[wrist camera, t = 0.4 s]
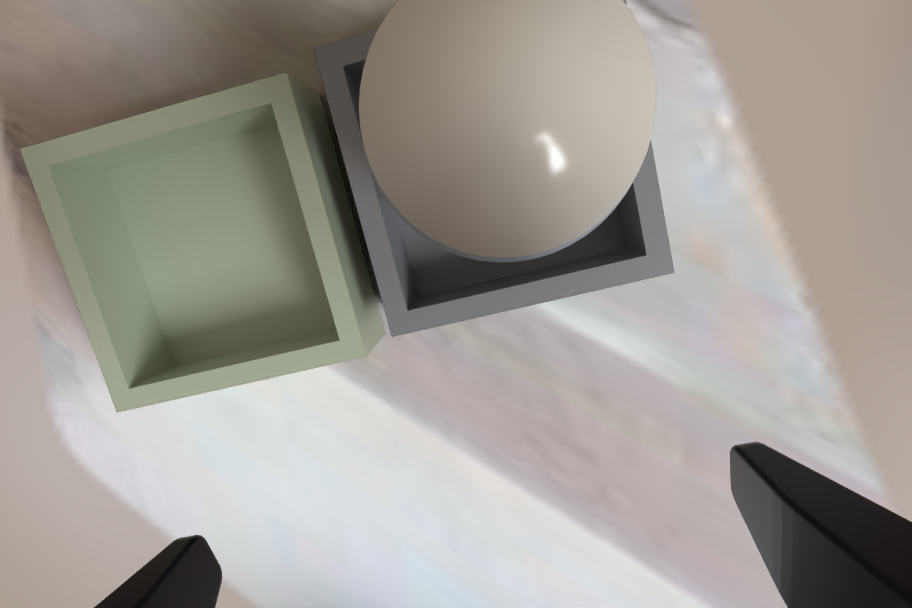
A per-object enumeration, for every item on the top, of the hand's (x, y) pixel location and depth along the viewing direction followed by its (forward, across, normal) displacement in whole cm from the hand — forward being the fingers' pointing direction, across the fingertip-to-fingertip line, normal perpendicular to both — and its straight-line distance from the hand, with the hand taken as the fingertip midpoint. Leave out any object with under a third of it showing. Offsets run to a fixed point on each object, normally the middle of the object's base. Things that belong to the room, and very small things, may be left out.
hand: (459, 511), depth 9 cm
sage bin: (+15, +9, -2) cm, 17 cm away
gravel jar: (+14, -2, -3) cm, 15 cm away
